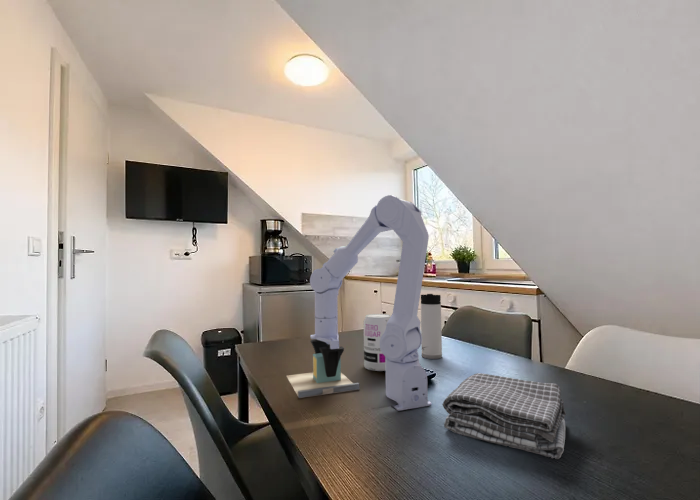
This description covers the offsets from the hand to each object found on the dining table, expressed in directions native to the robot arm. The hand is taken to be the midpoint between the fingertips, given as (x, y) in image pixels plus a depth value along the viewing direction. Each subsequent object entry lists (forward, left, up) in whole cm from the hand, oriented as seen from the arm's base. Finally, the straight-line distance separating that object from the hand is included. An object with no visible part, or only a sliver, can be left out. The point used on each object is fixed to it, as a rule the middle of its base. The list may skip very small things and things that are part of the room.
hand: (326, 371), depth 87 cm
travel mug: (+11, -38, -3) cm, 39 cm away
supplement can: (+5, -17, -3) cm, 17 cm away
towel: (-35, -23, -3) cm, 42 cm away
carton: (0, 0, -2) cm, 2 cm away
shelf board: (-2, +2, -3) cm, 4 cm away
